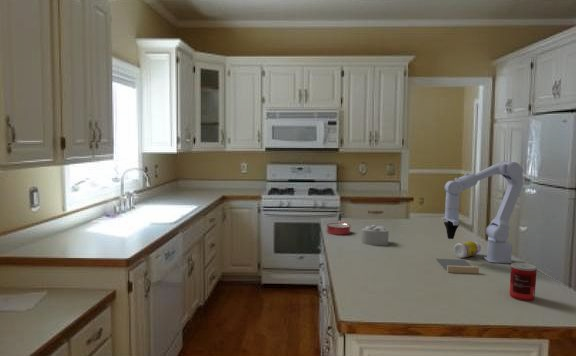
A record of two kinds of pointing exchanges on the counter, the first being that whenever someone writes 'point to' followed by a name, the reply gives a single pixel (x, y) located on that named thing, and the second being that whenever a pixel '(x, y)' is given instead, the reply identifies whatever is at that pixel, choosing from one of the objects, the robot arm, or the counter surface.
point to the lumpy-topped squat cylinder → (375, 235)
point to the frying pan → (338, 228)
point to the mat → (457, 266)
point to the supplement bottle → (466, 249)
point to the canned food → (523, 281)
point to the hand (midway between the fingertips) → (450, 238)
